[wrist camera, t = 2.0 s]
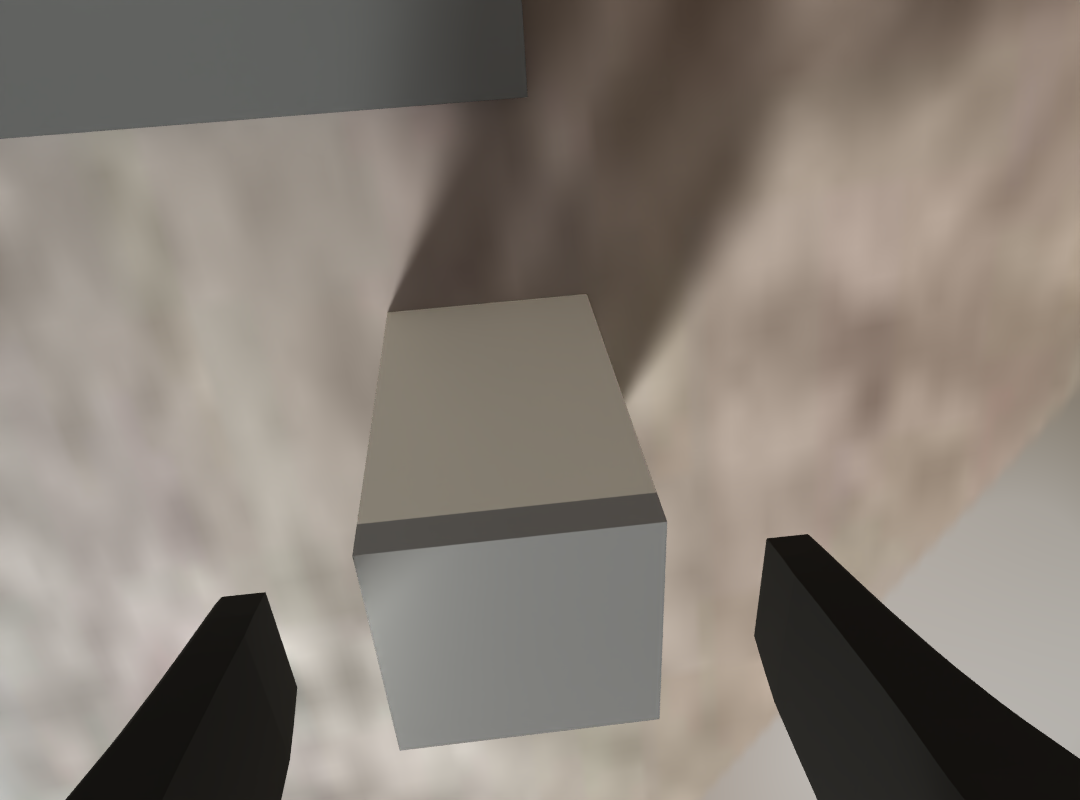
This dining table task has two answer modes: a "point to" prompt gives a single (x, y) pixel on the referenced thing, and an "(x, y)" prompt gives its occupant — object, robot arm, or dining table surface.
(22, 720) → the dining table surface
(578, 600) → the plug
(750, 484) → the dining table surface
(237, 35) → the socket base
